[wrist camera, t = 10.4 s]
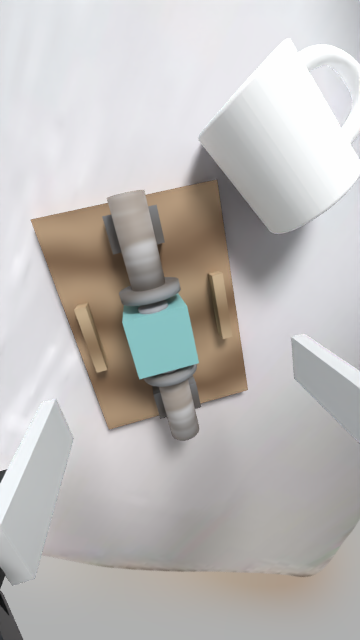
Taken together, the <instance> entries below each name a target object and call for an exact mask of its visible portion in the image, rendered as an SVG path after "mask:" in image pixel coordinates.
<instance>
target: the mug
mask: <svg viewBox="0 0 360 640" xmlns="http://www.w3.org/2000/svg"><path fill="white" fill-rule="evenodd" d="M321 66H329V67H331V68H332V69H333V70H335V71H336V72H337V74H338V75H339V76H340V77H341V79H342V80H343V81H344V83H345V85H346V86H347V88H348V90H349V93H350V95H351V99H352V108H351V111H350V114H349V116H348V118H347V120H346V121H345V123H344V124H343V126H342V127H341V126H340V125H339V123H338V121H337V119H336V118H335V116H334V114H333V112H332V111H331V109H330V107H329V105H328V104H327V102H326V100H325V98H324V97H323V95H322V93H321V91H320V90H319V88H318V86H317V84H316V83H315V81H314V79H313V77H312V76H311V74H310V71H312V70H314V69H316V68H318V67H321ZM359 133H360V65H359V63H358V62H357V61H356V60H355V59H354V58H353V57H352V56H351V55H349V54H348V53H346V52H345V51H343V50H341V49H339V48H337V47H334V46H331V45H325V44H319V45H313V46H310V47H307V48H305V49H303V50H301V51H300V52H298V51H297V50H296V48H295V46H294V44H293V43H292V41H291V39H289V38H287V39H285V40H284V41H283V42H282V43H281V44H280V45H279V46H278V47H277V48H276V49H275V50H274V51H273V52H272V53H271V54H270V55H269V56H268V57H267V58H266V59H265V60H264V62H263V63H262V64H261V65H260V66H259V67H258V68H257V69H256V70H255V71H254V72H253V74H252V75H251V76H250V77H249V78H248V79H247V80H246V81H245V82H244V83H243V85H242V86H241V87H240V88H239V89H238V90H237V91H236V92H235V94H234V95H233V96H232V97H231V98H230V99H229V100H228V101H227V103H226V104H225V105H224V106H223V107H222V108H221V109H220V111H219V112H218V113H217V114H216V115H215V116H214V118H213V119H212V120H211V121H210V122H209V123H208V125H207V126H206V127H205V128H204V129H203V131H202V132H201V133H200V135H199V137H198V139H199V141H200V143H201V144H202V145H203V146H204V148H205V149H206V150H207V152H208V153H209V154H210V155H211V157H212V158H213V159H214V161H215V162H216V163H217V164H218V166H219V167H220V168H221V169H222V171H223V172H224V173H225V175H226V176H227V177H228V178H229V180H230V181H231V182H232V184H233V185H234V186H235V187H236V189H237V190H238V191H239V193H240V194H241V195H242V196H243V198H244V199H245V200H246V201H247V203H248V204H249V205H250V207H251V208H252V209H253V210H254V212H255V213H256V214H257V216H258V217H259V218H260V219H261V221H262V222H263V223H264V225H265V226H266V227H267V228H268V230H269V231H270V232H271V233H274V234H282V233H287V232H290V231H292V230H295V229H297V228H299V227H301V226H303V225H305V224H307V223H309V222H310V221H312V220H314V219H315V218H317V217H318V216H320V215H321V214H323V213H324V212H325V211H327V210H328V209H329V208H331V207H332V206H333V205H334V204H335V203H337V202H338V201H339V200H340V199H341V198H342V197H343V196H344V195H345V194H346V193H347V192H348V191H349V190H350V189H351V188H352V186H353V185H354V184H355V183H356V181H357V180H358V178H359V176H360V160H359V158H358V156H357V154H356V153H355V151H354V149H353V147H352V146H351V144H352V143H353V142H354V140H355V139H356V138H357V136H358V135H359Z"/></svg>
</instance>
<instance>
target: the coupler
mask: <svg viewBox="0 0 360 640" xmlns="http://www.w3.org/2000/svg"><path fill="white" fill-rule="evenodd" d="M122 323H123V327H124V330H125V333H126V337H127V340H128V343H129V347H130V350H131V353H132V356H133V360H134V363H135V366H136V370H137V373H138V376H139V379H143V378H146V377H150V376H154V375H157V374H161V373H170V372H173V371H175V370H177V369H179V368H183V367H187V366H190V365H194V364H198V363H199V360H198V355H197V351H196V346H195V341H194V336H193V331H192V327H191V322H190V317H189V312H188V308H187V305H186V304H185V302H184V301H183V299H182V298H181V296H180V295H179V294H178V293H177V294H176V295H174V296H172V297H170V298H168V299H165V300H162V301H159V302H156V303H152V304H147V305H141V306H125V305H124V308H123V320H122Z"/></svg>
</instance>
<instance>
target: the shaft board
mask: <svg viewBox="0 0 360 640" xmlns="http://www.w3.org/2000/svg"><path fill="white" fill-rule="evenodd" d="M107 201H108V203H105V204H101V205H96V206H92V207H87V208H82V209H78V210H73V211H68V212H64V213H59V214H54V215H50V216H45V217H41V218H36V219H31V222H32V225H33V227H34V230H35V233H36V235H37V238H38V241H39V243H40V246H41V249H42V251H43V254H44V257H45V260H46V262H47V265H48V268H49V270H50V273H51V276H52V278H53V281H54V284H55V286H56V289H57V292H58V294H59V297H60V300H61V302H62V305H63V308H64V310H65V313H66V316H67V318H68V321H69V324H70V326H71V329H72V332H73V335H74V337H75V340H76V343H77V345H78V348H79V351H80V353H81V356H82V359H83V361H84V364H85V367H86V369H87V372H88V375H89V377H90V380H91V383H92V385H93V388H94V391H95V393H96V396H97V399H98V401H99V404H100V407H101V410H102V412H103V415H104V418H105V420H106V423H107V426H108V428H109V429H113V428H116V427H120V426H123V425H127V424H130V423H134V422H137V421H141V420H144V419H148V418H151V417H155V416H158V415H159V416H160V419H161V418H165V417H167V418H168V422H169V425H170V429H171V432H172V436H173V437H174V438H175V439H177V440H181V441H185V440H189V439H191V438H193V437H195V436H196V435H197V433H198V431H199V425H198V420H197V416H196V412H195V409H196V408H200V407H201V403H204V402H208V401H211V400H215V399H218V398H222V397H225V396H229V395H232V394H236V393H239V392H243V391H246V390H248V387H247V381H246V374H245V367H244V360H243V353H242V346H241V340H240V333H239V326H238V319H237V312H236V305H235V299H234V292H233V285H232V278H231V271H230V264H229V258H228V251H227V244H226V237H225V230H224V223H223V217H222V210H221V203H220V196H219V189H218V182H217V180H212V181H207V182H203V183H198V184H194V185H189V186H184V187H180V188H175V189H170V190H166V191H161V192H156V193H152V194H147V195H145V191H144V190H137V191H131V192H126V193H121V194H117V195H114V196H111V197H108V198H107ZM177 293H178V294H179V295H180V296H181V298H182V299H183V301H184V302H185V304H186V305H187V308H188V312H189V317H190V322H191V327H192V331H193V336H194V341H195V346H196V351H197V355H198V360H199V363H198V364H194V365H190V366H187V367H183V368H179V369H177V370H175V371H173V372H170V373H161V374H157V375H154V376H150V377H146V378H143V379H139V376H138V373H137V370H136V366H135V363H134V360H133V356H132V353H131V350H130V347H129V343H128V340H127V337H126V333H125V330H124V327H123V323H122V320H123V308H124V305H125V306H141V305H147V304H152V303H156V302H159V301H162V300H165V299H168V298H170V297H172V296H174V295H176V294H177Z"/></svg>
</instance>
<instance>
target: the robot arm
mask: <svg viewBox="0 0 360 640" xmlns="http://www.w3.org/2000/svg"><path fill="white" fill-rule="evenodd" d="M291 341H292V356H293V370H294V379H295V380H296V381H297V382H298V383H299V384H300V385H301V386H302V387H303V388H304V389H305V390H306V391H307V392H308V393H309V394H310V395H311V396H312V397H313V398H314V399H315V400H316V401H317V402H318V403H319V404H320V405H321V406H322V407H323V408H324V409H325V410H326V411H327V412H328V413H329V414H330V415H331V416H332V417H333V418H334V419H335V420H336V421H337V422H338V423H339V424H340V425H341V426H342V427H343V428H344V429H345V430H346V431H347V432H348V433H349V434H350V435H351V436H352V437H353V438H354V439H355V440H357V441H358V442H359V443H360V371H359V370H358V369H356V368H355V367H353V366H352V365H350V364H349V363H347V362H346V361H344V360H343V359H341V358H340V357H338V356H337V355H335V354H334V353H332V352H331V351H329V350H328V349H326V348H325V347H324V346H322V345H321V344H319V343H318V342H316V341H315V340H313V339H312V338H310V337H309V336H307V335H306V334H300V335H296V336H292V337H291ZM73 439H74V438H73V436H72V433H71V431H70V429H69V427H68V424H67V422H66V420H65V418H64V415H63V413H62V411H61V409H60V406H59V404H58V402H57V400H56V399H52V400H48V401H44V402H41V404H40V406H39V408H38V410H37V412H36V414H35V416H34V418H33V420H32V422H31V424H30V426H29V428H28V430H27V432H26V434H25V436H24V437H23V439H22V441H21V443H20V445H19V447H18V449H17V451H16V453H15V455H14V457H13V459H12V461H11V463H10V465H9V467H8V469H7V470H3V471H0V588H1V585H2V582H3V580H4V577H5V576H6V578H7V579H8V581H9V582H10V583H11V585H12V586H13V585H16V584H19V583H23V582H26V581H29V580H33V579H35V577H36V573H37V569H38V566H39V562H40V558H41V555H42V551H43V548H44V544H45V540H46V537H47V533H48V530H49V526H50V522H51V519H52V515H53V512H54V508H55V504H56V501H57V497H58V493H59V490H60V486H61V483H62V479H63V475H64V472H65V468H66V465H67V461H68V457H69V454H70V450H71V446H72V443H73ZM0 640H23V638H22V636H21V634H20V631H19V629H18V626H17V624H16V622H15V620H14V617H13V615H12V613H11V610H10V608H9V606H8V604H7V601H6V599H5V597H4V595H3V593H2V592H1V591H0Z"/></svg>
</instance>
